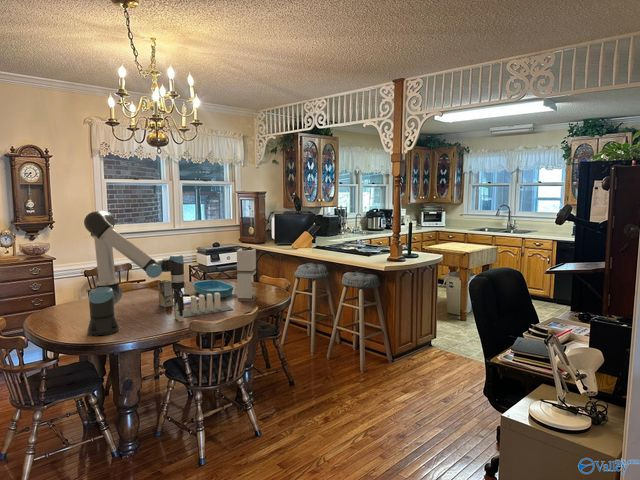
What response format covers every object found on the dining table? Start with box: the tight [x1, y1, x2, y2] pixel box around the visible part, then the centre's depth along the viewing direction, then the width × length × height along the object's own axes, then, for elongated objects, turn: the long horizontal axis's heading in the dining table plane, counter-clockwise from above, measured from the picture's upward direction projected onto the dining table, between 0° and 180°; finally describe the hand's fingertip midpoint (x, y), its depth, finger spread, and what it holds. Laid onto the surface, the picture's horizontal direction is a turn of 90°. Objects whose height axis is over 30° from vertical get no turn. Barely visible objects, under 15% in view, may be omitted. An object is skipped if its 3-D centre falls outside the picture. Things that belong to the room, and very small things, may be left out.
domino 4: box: [206, 294, 214, 311], centre depth 267 cm, size 2×5×10 cm, turn 31°
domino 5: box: [214, 292, 222, 310], centre depth 270 cm, size 2×5×10 cm, turn 31°
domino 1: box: [175, 302, 179, 322], centre depth 249 cm, size 2×5×10 cm, turn 31°
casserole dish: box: [192, 279, 234, 300], centre depth 311 cm, size 37×22×7 cm, turn 39°
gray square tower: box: [236, 247, 257, 302], centre depth 295 cm, size 11×11×35 cm
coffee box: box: [157, 279, 175, 308], centre depth 280 cm, size 9×6×16 cm
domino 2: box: [190, 295, 198, 314], centre depth 262 cm, size 2×5×10 cm, turn 31°
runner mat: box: [183, 304, 234, 318], centre depth 267 cm, size 32×12×1 cm, turn 121°
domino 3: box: [198, 294, 206, 312], centre depth 265 cm, size 2×5×10 cm, turn 31°
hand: (179, 319), depth 250 cm, fingers open, 7 cm apart
